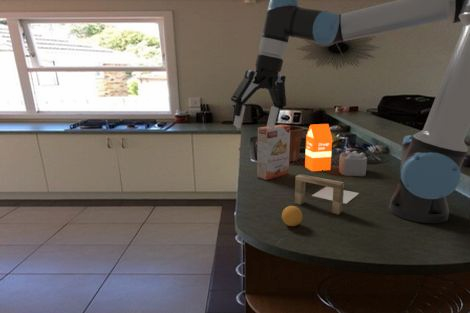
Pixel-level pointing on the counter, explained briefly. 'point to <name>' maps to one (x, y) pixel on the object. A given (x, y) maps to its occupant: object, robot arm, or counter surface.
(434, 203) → the robot arm
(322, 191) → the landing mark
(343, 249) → the counter surface
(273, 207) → the counter surface
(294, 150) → the plant pot
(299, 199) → the bridge
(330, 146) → the orange juice
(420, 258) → the counter surface
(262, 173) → the cracker box
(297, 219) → the ball
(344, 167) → the grey toy brick
